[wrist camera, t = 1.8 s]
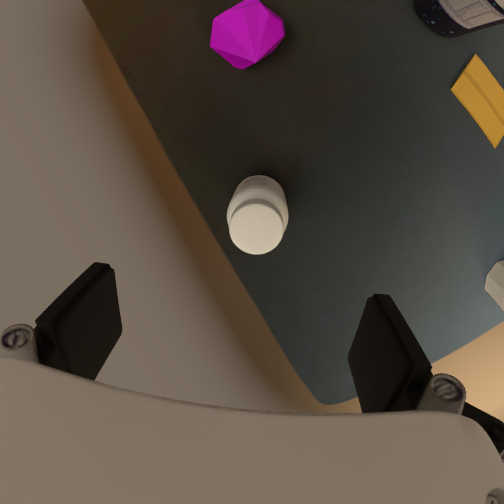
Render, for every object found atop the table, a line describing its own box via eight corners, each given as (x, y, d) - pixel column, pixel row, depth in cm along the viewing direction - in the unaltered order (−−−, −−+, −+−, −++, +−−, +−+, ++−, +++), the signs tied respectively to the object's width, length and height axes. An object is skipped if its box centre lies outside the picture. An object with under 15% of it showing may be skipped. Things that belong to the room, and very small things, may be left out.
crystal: (291, 33, 20) (296, 16, 16) (254, 80, 22) (251, 71, 18) (240, 4, 19) (235, -17, 15) (203, 50, 21) (190, 36, 17)
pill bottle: (223, 203, 26) (207, 235, 19) (255, 164, 25) (250, 181, 18) (263, 232, 27) (261, 274, 20) (295, 196, 26) (305, 225, 19)
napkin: (449, 89, 21) (451, 89, 20) (474, 53, 18) (476, 53, 18) (493, 147, 22) (495, 148, 22) (515, 111, 20) (517, 111, 20)
